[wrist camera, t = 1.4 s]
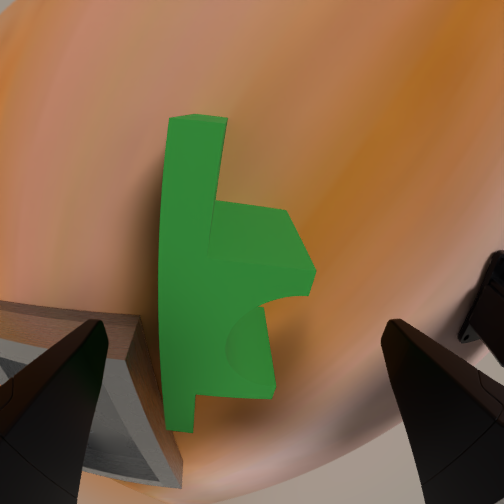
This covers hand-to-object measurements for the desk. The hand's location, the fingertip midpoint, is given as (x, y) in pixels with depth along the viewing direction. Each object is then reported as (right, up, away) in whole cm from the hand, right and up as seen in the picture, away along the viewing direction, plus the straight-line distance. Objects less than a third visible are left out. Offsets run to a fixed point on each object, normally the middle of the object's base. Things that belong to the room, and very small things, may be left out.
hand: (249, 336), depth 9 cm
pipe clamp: (-1, +2, +4) cm, 4 cm away
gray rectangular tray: (-10, -8, +8) cm, 15 cm away
